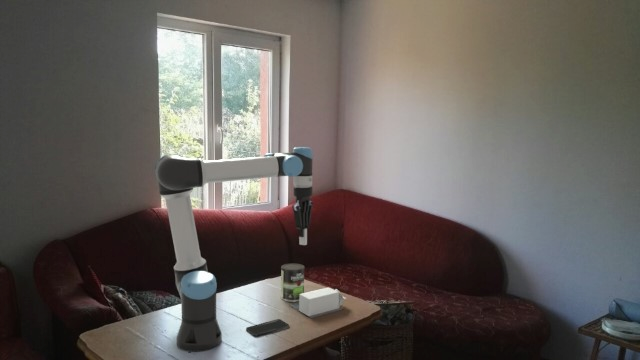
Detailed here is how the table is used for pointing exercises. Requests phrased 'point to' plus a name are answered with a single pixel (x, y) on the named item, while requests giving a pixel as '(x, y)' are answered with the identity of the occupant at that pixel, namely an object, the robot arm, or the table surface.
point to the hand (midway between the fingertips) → (303, 244)
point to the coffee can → (292, 281)
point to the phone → (267, 328)
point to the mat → (296, 306)
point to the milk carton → (320, 301)
